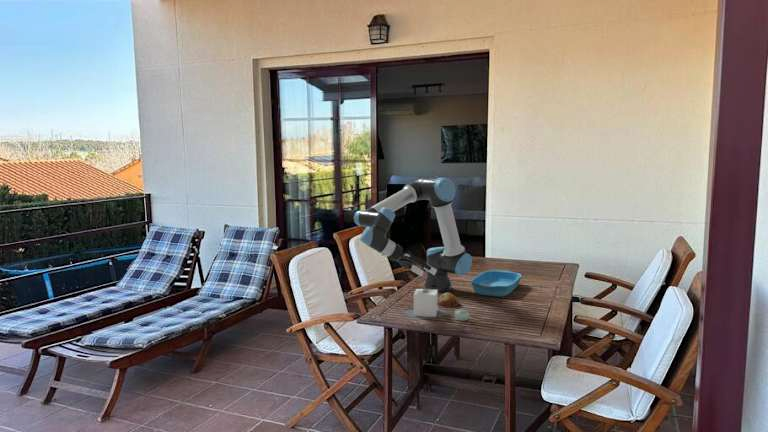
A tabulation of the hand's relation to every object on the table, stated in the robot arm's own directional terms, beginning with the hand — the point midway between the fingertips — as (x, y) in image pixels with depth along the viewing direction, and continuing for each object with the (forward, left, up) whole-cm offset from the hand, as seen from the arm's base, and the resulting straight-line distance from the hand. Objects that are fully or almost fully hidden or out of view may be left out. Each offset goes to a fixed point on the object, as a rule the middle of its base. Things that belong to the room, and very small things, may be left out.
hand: (429, 273), depth 237 cm
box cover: (+3, +2, -18) cm, 18 cm away
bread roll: (-14, -6, -19) cm, 24 cm away
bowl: (-7, +17, -19) cm, 26 cm away
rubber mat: (+3, +2, -19) cm, 19 cm away
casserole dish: (-53, -20, -19) cm, 60 cm away
